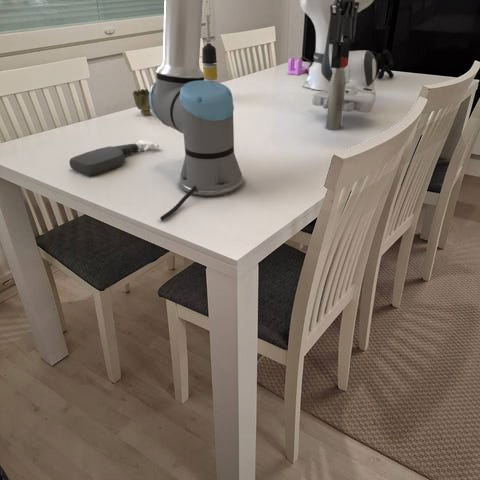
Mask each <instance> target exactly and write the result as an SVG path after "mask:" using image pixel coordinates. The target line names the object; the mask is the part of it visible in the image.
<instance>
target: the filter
mask: <svg viewBox="0 0 480 480" xmlns="http://www.w3.org/2000/svg"><path fill="white" fill-rule="evenodd" d="M210 17H211V14H204V18H205V27H206V29H205V30H206V31H205V33H206V39H207V40H206V42H207V43H206V45H204V46H202V49H201V50H202V51H201V52H202V54H201V55H202V57H201V58H202V61H201V63H202V72H203V73H204V75H205V77H204V80H205V81H210V82H216V80H218V64H216V63H218V61H217V48H216V47H215V46H214V45H212V43H210V42H211V40H210V39H211V31H210V29H211V28H210Z"/></svg>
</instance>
